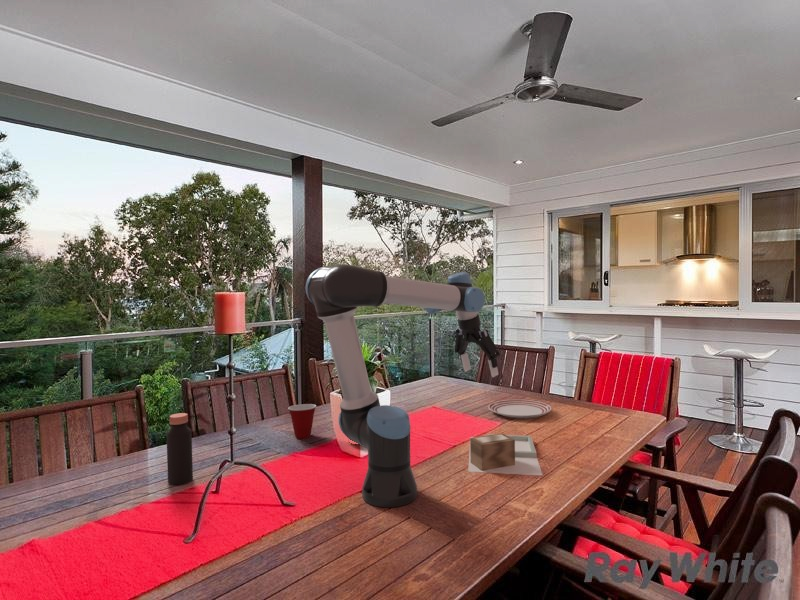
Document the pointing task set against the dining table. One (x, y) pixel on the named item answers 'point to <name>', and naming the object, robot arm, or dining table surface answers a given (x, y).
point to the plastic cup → (302, 419)
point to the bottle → (179, 450)
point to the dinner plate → (520, 408)
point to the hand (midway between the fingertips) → (481, 373)
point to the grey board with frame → (517, 459)
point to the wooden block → (492, 451)
